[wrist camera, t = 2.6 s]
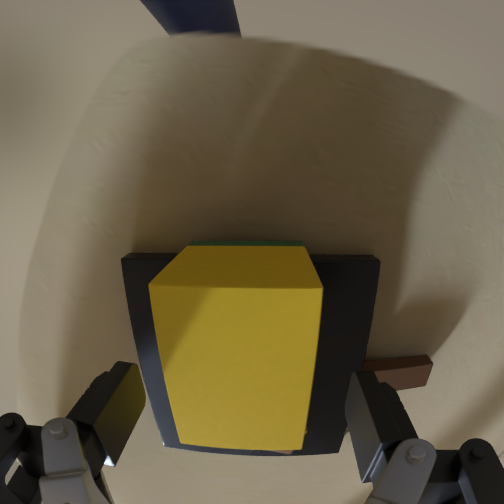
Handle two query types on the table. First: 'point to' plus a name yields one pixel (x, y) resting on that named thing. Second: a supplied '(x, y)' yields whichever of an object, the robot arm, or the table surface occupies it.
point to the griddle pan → (328, 352)
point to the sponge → (239, 342)
